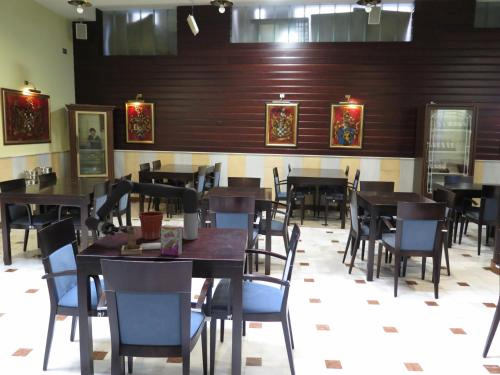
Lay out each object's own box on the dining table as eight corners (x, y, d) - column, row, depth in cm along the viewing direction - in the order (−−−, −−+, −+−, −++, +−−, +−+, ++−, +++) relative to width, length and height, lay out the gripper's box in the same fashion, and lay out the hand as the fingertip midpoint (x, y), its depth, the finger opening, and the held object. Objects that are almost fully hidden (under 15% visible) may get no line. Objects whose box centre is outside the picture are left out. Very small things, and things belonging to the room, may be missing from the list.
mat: (141, 244, 261) (141, 243, 260) (161, 243, 263) (161, 242, 263) (141, 249, 249) (141, 248, 249) (161, 248, 252) (161, 247, 252)
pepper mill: (128, 250, 246) (127, 225, 244) (136, 250, 247) (135, 225, 245) (127, 253, 241) (127, 227, 239) (135, 252, 242) (135, 227, 240)
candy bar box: (160, 254, 239) (160, 226, 237) (164, 252, 244) (164, 224, 242) (178, 256, 236) (178, 227, 234) (182, 254, 241) (182, 225, 239)
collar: (122, 249, 248) (122, 245, 248) (141, 248, 250) (141, 244, 250) (121, 254, 237) (121, 250, 237) (141, 253, 240) (141, 249, 240)
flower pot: (134, 236, 279) (134, 213, 277) (156, 233, 290) (156, 210, 288) (145, 242, 267) (145, 216, 265) (168, 238, 277) (168, 214, 275)
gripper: (95, 223, 255) (109, 228, 244) (116, 220, 266) (131, 224, 255) (95, 235, 256) (109, 240, 245) (116, 232, 267) (131, 237, 256)
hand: (120, 232), depth 250 cm, fingers open, 8 cm apart
